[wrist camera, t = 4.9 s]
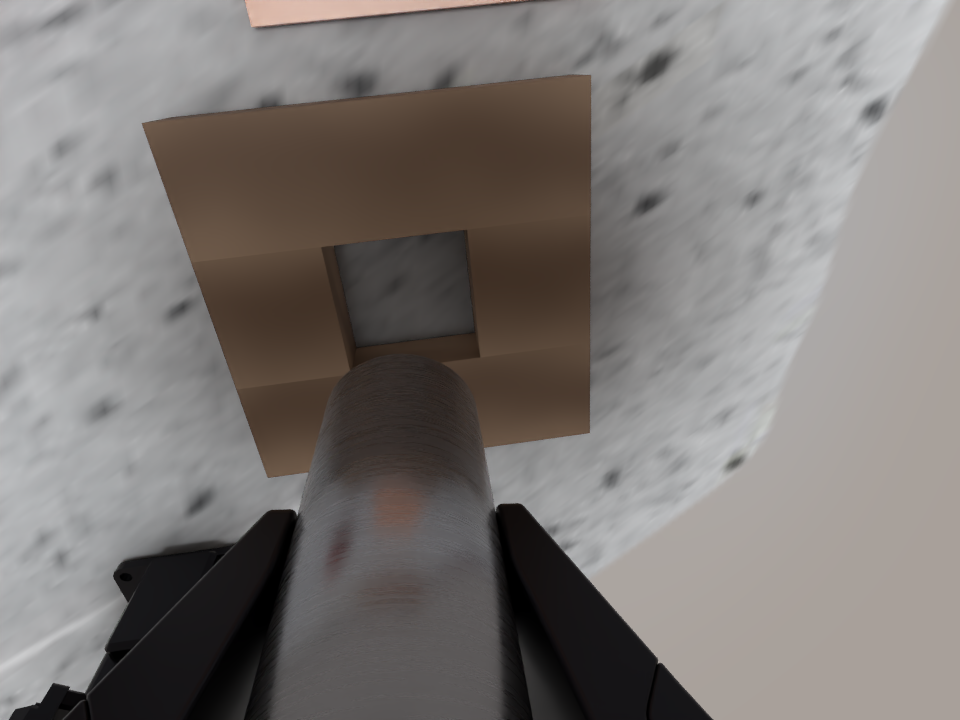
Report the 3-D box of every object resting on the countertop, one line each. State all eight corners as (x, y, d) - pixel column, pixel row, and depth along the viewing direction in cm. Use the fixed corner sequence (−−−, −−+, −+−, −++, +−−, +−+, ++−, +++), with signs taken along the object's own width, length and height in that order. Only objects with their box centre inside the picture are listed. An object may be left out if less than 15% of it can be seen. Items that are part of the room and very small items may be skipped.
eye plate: (575, 404, 22) (589, 432, 21) (279, 444, 22) (267, 477, 20) (572, 74, 17) (591, 75, 15) (171, 117, 16) (141, 123, 14)
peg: (482, 354, 11) (647, 1059, 3) (473, 478, 13) (569, 1168, 5) (319, 352, 11) (53, 1148, 3) (329, 480, 12) (174, 1238, 4)
